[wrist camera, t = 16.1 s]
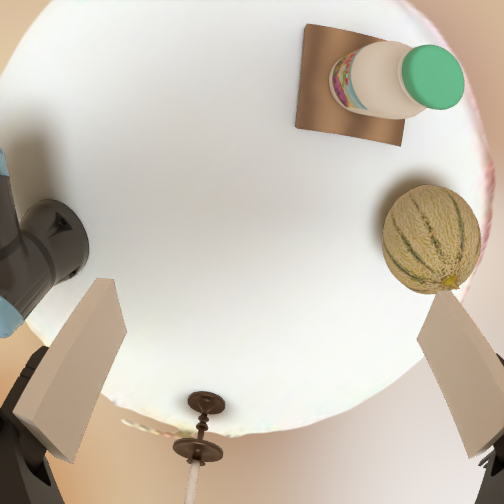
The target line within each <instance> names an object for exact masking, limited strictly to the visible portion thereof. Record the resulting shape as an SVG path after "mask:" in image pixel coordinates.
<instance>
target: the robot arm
mask: <svg viewBox="0 0 504 504" xmlns="http://www.w3.org/2000/svg"><path fill="white" fill-rule="evenodd" d="M9 177H10V174H9V173H8V170H7V165H6V159H5V154H4V152H3V150H2V149H1V148H0V338H7V337H9V336H11V335H12V334H13V332H14V331H15V330H16V329H17V328H18V327H19V326H21V325H22V324H23V323H24V320H25V319H26V318H27V317H28V315H29V314H30V313H31V312H32V310H33V309H34V308H35V307H36V306H37V304H38V303H39V302H40V301H41V300H42V298H43V297H44V296H45V295H46V294H47V292H48V291H49V290H50V289H51V288H52V287H53V286H55V285H57V284H59V283H61V282H64V281H66V280H68V279H70V278H72V277H74V276H75V275H77V274H78V272H79V271H80V270H81V269H82V268H83V267H84V265H85V264H86V262H87V259H88V253H89V246H88V239H87V236H86V233H85V230H84V228H83V226H82V224H81V222H80V221H79V219H78V218H77V216H76V215H75V214H74V213H73V212H72V211H71V210H70V209H69V208H68V207H67V206H65V205H64V204H62V203H60V202H58V201H55V200H43V201H40V202H39V203H37V204H35V205H34V206H32V207H31V208H30V209H29V210H28V211H27V212H26V213H25V215H24V217H23V218H22V220H21V221H20V223H18V218H17V214H16V210H15V205H14V200H13V195H12V190H11V185H10V179H9ZM126 333H127V330H126V327H125V323H124V319H123V316H122V312H121V308H120V304H119V300H118V296H117V292H116V288H115V283H114V279H103V278H97V279H96V280H95V282H94V283H93V284H92V286H91V287H90V288H89V290H88V291H87V293H86V294H85V295H84V297H83V298H82V300H81V301H80V302H79V304H78V305H77V307H76V308H75V310H74V311H73V312H72V314H71V315H70V317H69V318H68V320H67V321H66V323H65V324H64V326H63V327H62V329H61V330H60V332H59V333H58V335H57V336H56V338H55V340H54V341H53V343H52V344H51V346H50V347H46V346H42V347H41V348H39V349H38V350H37V351H36V352H35V353H33V354H32V356H31V357H30V359H29V361H28V362H27V364H26V367H25V368H24V369H23V370H22V372H21V373H20V377H18V378H17V380H16V382H15V383H14V386H13V387H12V389H11V390H10V392H9V394H8V396H7V398H6V399H5V401H4V403H3V405H2V407H1V408H0V504H65V503H64V501H63V499H62V496H61V494H60V492H59V489H58V487H57V484H56V482H55V479H54V477H53V474H52V472H51V469H50V466H49V463H48V461H47V459H46V457H45V453H46V450H48V451H49V452H50V453H51V454H52V455H53V456H54V457H56V458H59V459H61V460H64V461H67V462H69V463H72V464H74V461H75V458H76V455H77V452H78V449H79V447H80V444H81V441H82V438H83V436H84V433H85V430H86V428H87V425H88V422H89V420H90V417H91V414H92V412H93V409H94V407H95V404H96V401H97V399H98V397H99V394H100V392H101V390H102V387H103V385H104V382H105V380H106V378H107V375H108V373H109V371H110V368H111V366H112V364H113V362H114V359H115V357H116V355H117V353H118V350H119V348H120V346H121V344H122V342H123V339H124V337H125V335H126ZM417 341H418V343H419V345H420V347H421V349H422V351H423V353H424V355H425V357H426V359H427V361H428V363H429V365H430V367H431V369H432V371H433V373H434V376H435V378H436V380H437V382H438V384H439V386H440V389H441V391H442V393H443V395H444V398H445V400H446V402H447V404H448V407H449V409H450V411H451V414H452V416H453V419H454V421H455V423H456V426H457V428H458V431H459V433H460V436H461V439H462V441H463V444H464V447H465V449H466V452H467V455H468V458H469V459H470V458H473V457H475V456H478V455H480V454H482V453H484V452H485V451H486V450H487V449H488V448H490V447H491V446H492V445H493V446H494V450H493V451H492V452H491V453H490V454H488V455H487V456H486V457H485V458H484V459H482V460H481V461H480V463H479V465H478V466H481V465H483V464H484V463H485V462H486V461H487V460H488V463H487V464H485V465H484V467H483V468H486V471H485V475H484V478H483V481H482V484H481V488H480V490H479V493H478V496H477V499H476V501H475V504H504V360H503V359H502V358H501V357H500V356H499V355H498V354H495V352H494V351H493V349H492V348H491V346H490V345H489V343H488V342H487V340H486V339H485V337H484V336H483V334H482V333H481V332H480V330H479V329H478V327H477V326H476V324H475V323H474V321H473V320H472V319H471V318H470V316H469V314H468V313H467V312H466V310H465V309H464V308H463V307H462V305H461V304H460V302H459V301H458V300H457V298H456V297H455V296H454V294H453V293H452V292H451V291H437V293H436V296H435V298H434V301H433V303H432V306H431V308H430V310H429V313H428V315H427V317H426V320H425V322H424V324H423V326H422V328H421V331H420V333H419V335H418V337H417Z"/></svg>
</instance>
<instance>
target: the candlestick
mask: <svg viewBox="0 0 504 504" xmlns="http://www.w3.org/2000/svg"><path fill="white" fill-rule="evenodd" d="M188 405H189V406H190V407H191V408H192V409H194V410H195V411H198V412H200V413H202V414H201V416H199V418H198V419H199V420H200V423H198V424H197V425H196V428H197V429H198V430H199V431H198V436H197V439H194V438H182V439H178V440H176V441H175V442H174V444H173V449H174V451H175V452H176V453H177V454H179V455H181V456H183V457H185V458H188V460H187V462H188V463H189V464H191V468H190V473H189V479H188V485H187V490H186V496H185V502H184V504H194V499H195V493H196V486H197V480H198V474H199V468H200V466H204V465H205V463H204V462H214V461H218V460H220V459H221V458H222V457H223V450H222V448H220V447H219V446H217V445H215V444H214V443H211V442H208V441H204V440H203V436H204V431H207V430H208V425H207V424H206V422H207V421H209V418H208V417H207V414H218V413H221V412H222V411H223V410H224V409H225V401H224V400H223V399H222V398H221V397H220V396H218V395H216V394H214V393H210V392H204V391H199V392H194V393H192V394H190V395H189V397H188Z"/></svg>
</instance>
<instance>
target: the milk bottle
mask: <svg viewBox="0 0 504 504" xmlns="http://www.w3.org/2000/svg"><path fill="white" fill-rule="evenodd" d="M329 87H330V91H331V93H332V95H333V97H334V99H335V100H336V101H337V102H338V103H339V104H340V105H341V106H342V107H343V108H345V109H347V110H349V111H351V112H354V113H358V114H363V115H369V116H374V117H379V118H385V119H406V118H410V117H413V116H415V115H417V114H419V113H420V112H422V111H423V110H424V109H425V108H431V109H438V110H444V109H448V108H451V107H453V106H455V105H456V104H457V103H458V102H459V101H460V99H461V97H462V95H463V92H464V76H463V72H462V69H461V67H460V65H459V63H458V62H457V60H456V59H455V58H454V56H453V55H452V54H451V53H449V52H448V51H447V50H445V49H443V48H441V47H439V46H435V45H422V46H419V47H415V48H411V47H410V46H407V45H405V44H402V43H399V42H393V41H381V42H376V43H372V44H369V45H367V46H364V47H362V48H360V49H358V50H356V51H354V52H352V53H350V54H348V55H346V56H344V57H342V58H341V59H340V60H338V61H337V62H336V63H335V64H334V65H333V67H332V69H331V71H330V74H329Z"/></svg>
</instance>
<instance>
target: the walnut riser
mask: <svg viewBox="0 0 504 504" xmlns="http://www.w3.org/2000/svg"><path fill="white" fill-rule="evenodd" d="M381 41H386V40H383V39H379V38H375V37H372V36H368V35H364V34H359V33H355V32H351V31H346V30H341V29H336V28H331V27H325V26H320V25H313V24H307V25H306V27H305V28H304V39H303V51H302V62H301V73H300V84H299V95H298V105H297V115H296V124H295V127H296V128H298V129H306V130H313V131H320V132H327V133H333V134H340V135H346V136H351V137H357V138H362V139H368V140H373V141H378V142H382V143H387V144H392V145H396V146H401V142H402V136H403V130H404V123H405V119H385V118H379V117H374V116H369V115H363V114H358V113H354V112H351V111H349V110H347V109H345V108H343V107H342V106H341V105H340V104H339V103H338V102H337V101H336V100H335V99H334V97H333V95H332V93H331V91H330V87H329V74H330V71H331V69H332V67H333V65H334V64H335V63H336V62H337V61H338V60H340V59H341V58H342V57H344V56H346V55H348V54H350V53H352V52H354V51H356V50H358V49H360V48H362V47H364V46H367V45H369V44H372V43H376V42H381Z"/></svg>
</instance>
